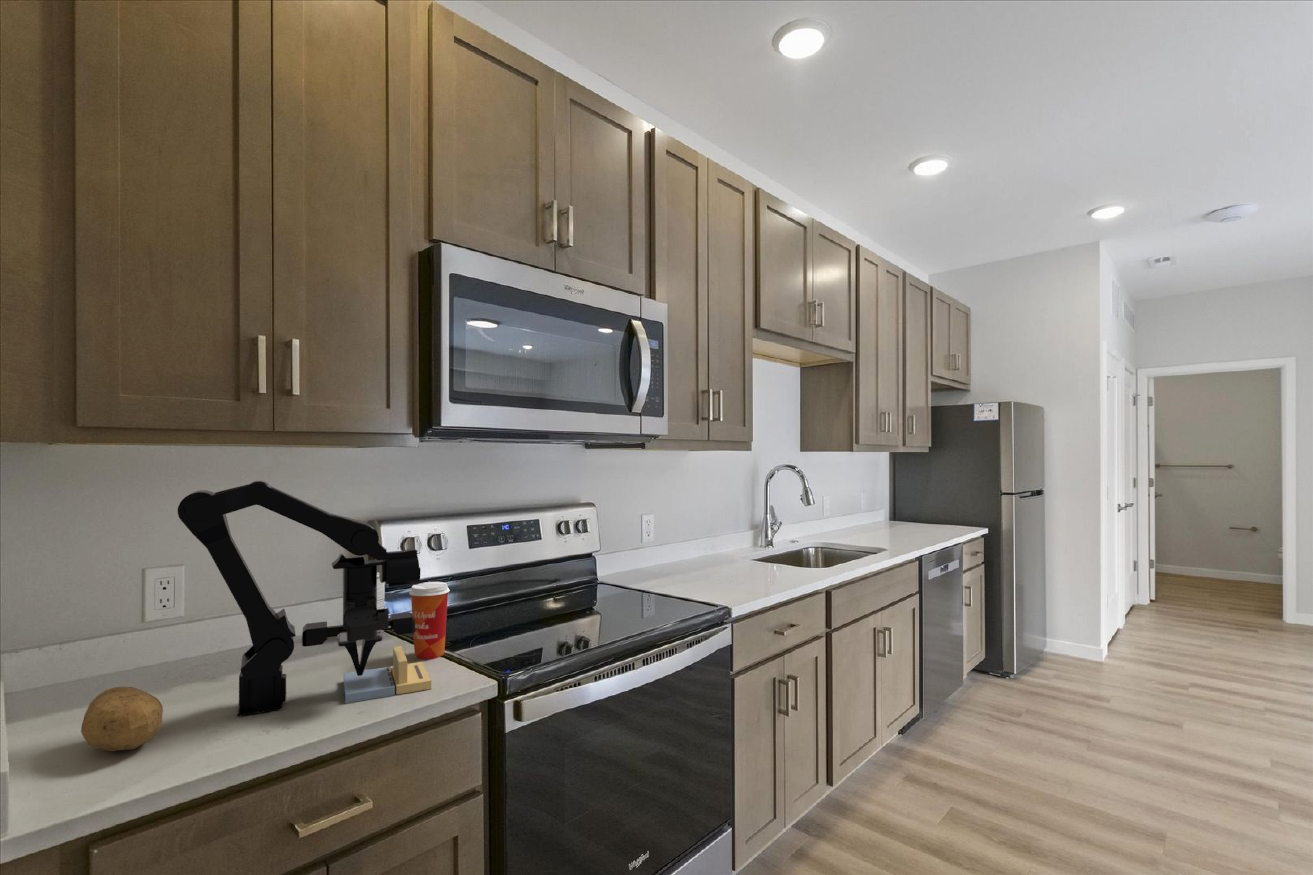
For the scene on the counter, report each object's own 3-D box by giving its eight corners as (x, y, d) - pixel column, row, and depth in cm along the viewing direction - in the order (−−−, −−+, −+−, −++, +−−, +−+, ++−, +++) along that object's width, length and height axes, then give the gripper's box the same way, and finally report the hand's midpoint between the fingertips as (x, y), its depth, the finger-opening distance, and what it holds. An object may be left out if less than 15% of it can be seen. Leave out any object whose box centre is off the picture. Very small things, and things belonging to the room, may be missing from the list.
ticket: (345, 703, 114) (345, 693, 114) (343, 681, 124) (343, 672, 124) (394, 695, 117) (394, 685, 117) (388, 674, 128) (388, 666, 128)
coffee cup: (400, 657, 139) (400, 586, 139) (430, 646, 146) (430, 579, 146) (429, 663, 135) (429, 590, 135) (458, 652, 142) (458, 583, 142)
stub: (396, 694, 118) (396, 663, 118) (390, 674, 128) (390, 645, 128) (431, 688, 120) (431, 658, 120) (422, 669, 131) (422, 641, 131)
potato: (91, 774, 89) (91, 716, 89) (71, 745, 98) (72, 691, 98) (177, 749, 97) (177, 695, 97) (151, 723, 106) (152, 674, 106)
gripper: (301, 605, 109) (301, 699, 109) (419, 593, 118) (419, 680, 117) (303, 592, 119) (302, 678, 119) (411, 582, 128) (411, 662, 127)
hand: (359, 675), depth 120 cm, fingers closed
